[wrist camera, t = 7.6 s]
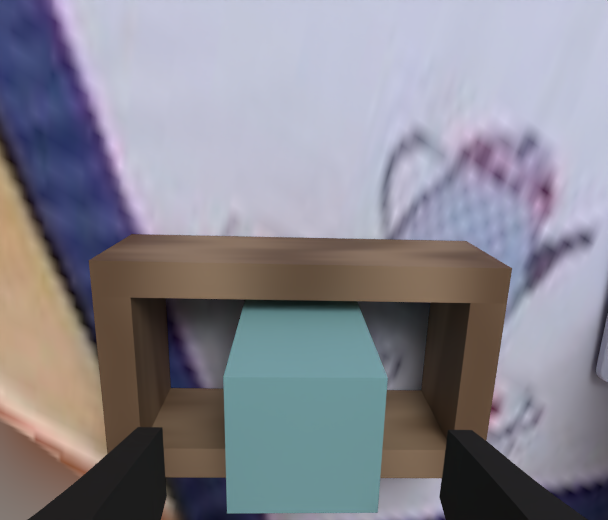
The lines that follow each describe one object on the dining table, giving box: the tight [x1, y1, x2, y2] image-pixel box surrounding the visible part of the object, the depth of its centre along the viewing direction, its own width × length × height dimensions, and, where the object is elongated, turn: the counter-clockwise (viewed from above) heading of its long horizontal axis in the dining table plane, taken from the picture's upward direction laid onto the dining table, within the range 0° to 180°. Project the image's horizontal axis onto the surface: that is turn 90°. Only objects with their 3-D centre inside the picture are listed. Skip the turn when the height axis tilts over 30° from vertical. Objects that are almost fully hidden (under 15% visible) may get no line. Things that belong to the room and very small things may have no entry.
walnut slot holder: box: [89, 234, 512, 478], centre depth 17 cm, size 13×8×4 cm, turn 89°
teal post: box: [223, 299, 388, 513], centre depth 16 cm, size 4×4×8 cm
